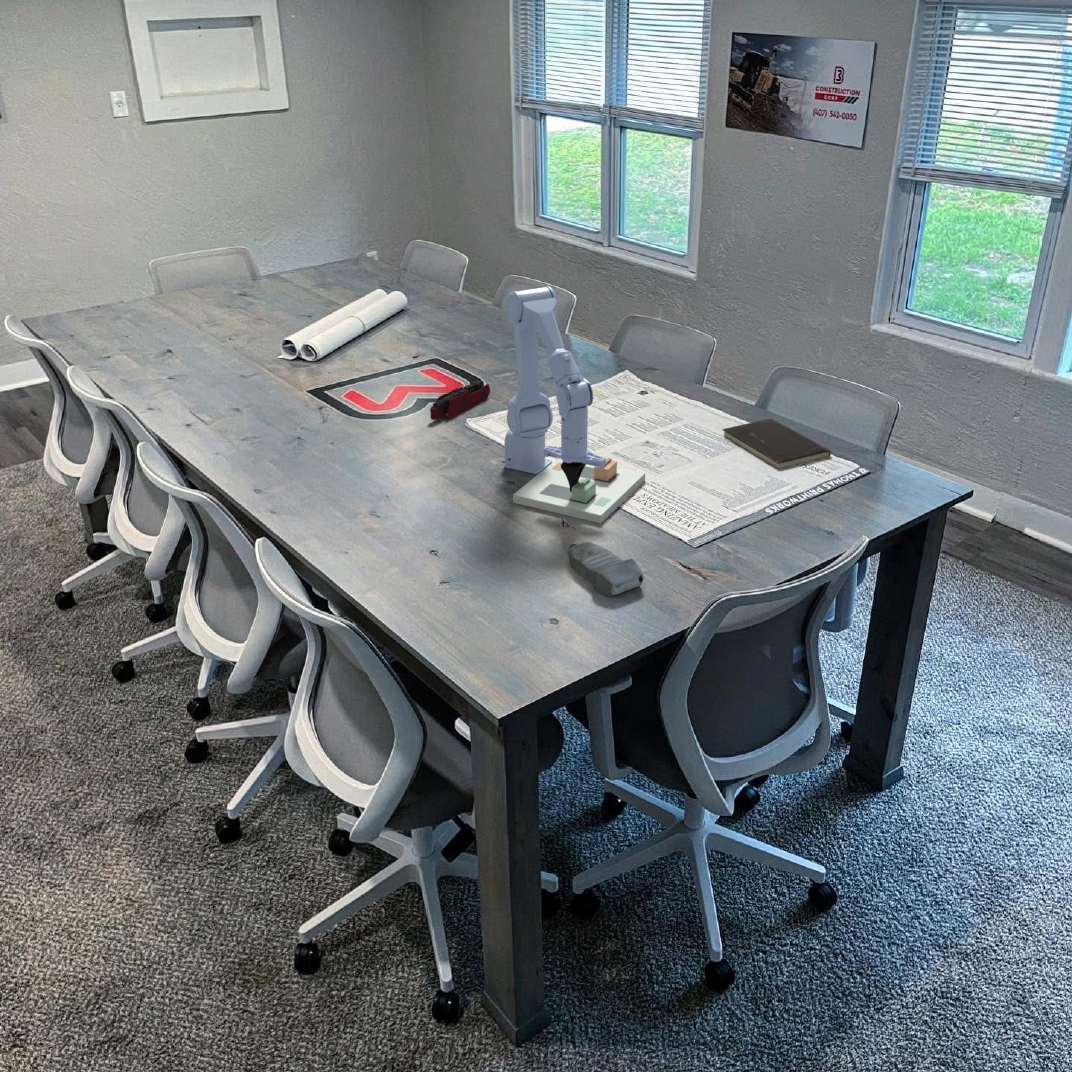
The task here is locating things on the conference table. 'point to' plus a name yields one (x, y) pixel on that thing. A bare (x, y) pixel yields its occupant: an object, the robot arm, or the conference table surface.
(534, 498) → the switch board
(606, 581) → the handheld device
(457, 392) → the mechanical component
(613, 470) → the tab terracotta
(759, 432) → the hardcover book
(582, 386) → the robot arm
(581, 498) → the tab green
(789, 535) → the conference table surface
